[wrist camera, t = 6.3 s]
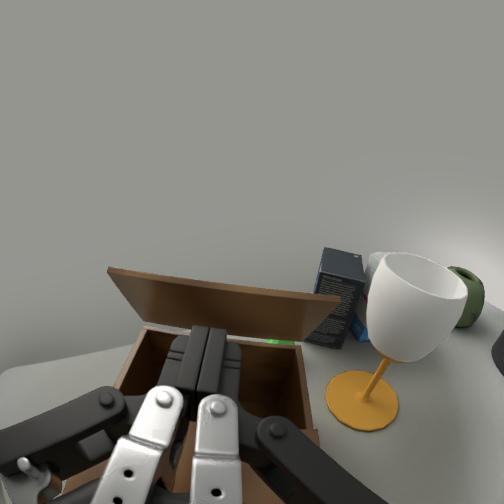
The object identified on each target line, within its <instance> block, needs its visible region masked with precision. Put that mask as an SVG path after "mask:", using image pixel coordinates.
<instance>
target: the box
mask: <svg viewBox="0 0 504 504" xmlns="http://www.w3.org/2000/svg"><path fill="white" fill-rule="evenodd" d="M365 283H366V280H365V276H364V271H363V264H362V257H361V255H357V254H353V253H348V252H344V251H340V250H336V249H332V248H326V247H325V248H324V250H323V254H322V258H321V262H320V267H319V271H318V275H317V278H316V282H315V286H314V291H313V294H322V295H332V296H340V299H341V303H340V304H339V305H338V306H337V307H336V308H335V309H334V310H333V311H332V312H331V313H330V314H329V315H328V316H327V317H326V318H325V319H324V320H323V322H322V323H321V324H320V325H319V326H318V327H317V328H316V329H315V330H314V331H313V332H312V333H311V334H310V335H309V336H308V337H307V338H306V339H304V341H307V342H312V343H316V344H320V345H324V346H328V347H333V348H338V349H340V348H341V347H342V344H343V342H344V339H345V337H346V334H347V332H348V329H349V327H350V324H351V321H352V319H353V316H354V314H355V311H356V308H357V305H358V303H359V300H360V297H361V294H362V291H363V289H364V286H365Z"/></svg>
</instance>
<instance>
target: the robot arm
mask: <svg viewBox="0 0 504 504" xmlns="http://www.w3.org/2000/svg"><path fill="white" fill-rule="evenodd" d="M226 338H227V329H219V328H212V327H211V329H210V327H205V326H198V325H193V327H192V330H191V333H190V336H188V335H182V334H180V335H179V336H178V337H177V338H176V339H175V340H173V342H172V345H171V347H170V351H169V353H168V355H167V359H166V361H165V364H164V366H163V369H162V372H161V375H160V377H159V380H158V383H157V385H156V387H154V388H152V389H151V390H150V391H149V392H148V393H147V394H145V395H140V396H123V394H122V393H121V391H119V390H118V389H116V388H114V387H110V386H104V387H100V388H98V389H96V390H93V391H91V392H89V393H87V394H85V395H83V396H81V397H78V398H76V399H74V400H72V401H70V402H67V403H65V404H63V405H61V406H58V407H56V408H54V409H52V410H49V411H47V412H45V413H42V414H40V415H38V416H35V417H33V418H30V419H28V420H25V421H23V422H21V423H18V424H16V425H13V426H10V427H8V428H5V429H3V430H0V476H1V479H2V481H3V483H4V486H5V488H6V490H7V492H8V495H9V497H10V499H11V501H12V503H13V504H244V503H242V477H241V461H242V462H245V463H248V464H249V466H250V467H251V468H252V469H253V471H254V472H255V473H256V474H257V475H258V476H259V477H260V478H261V479H262V480H263V481H264V483H265V484H266V485H267V486H268V487H269V488H270V489H271V490H272V491H273V492H274V493H275V494H276V495H277V496H278V497H279V498H280V499H281V500H282V501H283V502H284V503H285V504H388V503H387V502H386V501H384V500H383V499H382V498H380V497H379V496H378V495H376V494H375V493H374V492H372V491H371V490H370V489H368V488H367V487H366V486H364V485H363V484H362V483H361V482H359V481H358V480H357V479H356V478H354V477H353V476H352V475H351V474H349V473H348V472H347V471H346V470H345V469H343V468H342V467H341V466H340V465H339V464H337V463H336V462H335V461H334V460H333V459H332V458H331V457H329V456H328V455H327V454H326V453H325V452H324V451H323V450H321V449H320V448H319V447H318V446H317V445H316V444H315V443H314V442H313V441H311V440H310V439H309V438H308V437H307V436H306V435H305V434H304V433H303V432H302V431H301V430H300V429H299V428H298V427H297V426H296V425H294V424H293V423H292V422H291V421H290V420H289V419H287V418H285V417H282V416H269V417H266V418H264V419H262V418H259V417H257V416H254V415H251V414H249V413H248V412H246V411H245V410H244V409H243V408H242V407H241V405H240V403H239V400H238V393H239V380H240V368H241V356H242V351H241V348H240V346H239V344H238V342H230V341H226ZM196 419H197V427H196V438H195V450H194V454H193V460H192V472H191V487H190V493H173V489H174V485H175V477H176V471H177V467H178V464H179V461H180V457H181V454H182V451H183V448H184V444H185V441H186V438H187V432H188V427H189V423H190V421H192V422H196ZM109 458H110V459H109ZM107 459H109V461H108V463H107V465H106V467H105V470H104V472H103V474H102V476H101V478H97V479H94V480H91V481H89V482H87V483H85V484H83V485H81V486H80V487H78V488H76V489H74V490H72V491H70V492H68V493H66V494H64V495H61V496H59V497H57V498H55V499H53V498H54V497H56V496H57V495H59V494H60V493H61V491H62V482H61V481H63V480H66V479H68V478H70V477H72V476H75V475H77V474H79V473H81V472H83V471H85V470H87V469H89V468H91V467H93V466H95V465H97V464H99V463H101V462H103V461H105V460H107ZM52 499H53V500H52Z"/></svg>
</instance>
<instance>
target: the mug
mask: <svg viewBox="0 0 504 504" xmlns="http://www.w3.org/2000/svg"><path fill="white" fill-rule="evenodd" d="M447 269H449V270H451V271H452V272H453V273H455V274H456V275H457V276H458V277H459V278H460V279H461V280H462V281H463V282H464V284H465V285H466V287H467V289H468V297H467V300H466V303H465V307H464V310H463V313H462V316H461V317H460V319H459V321H458V322H457V324H456V325H455V326H458V327H465V326H471V325H472V324H473V323H474V322H475V321H476V320H477V318H478V317H479V316H480V314H481V311H482V308H483V305H484V297H485V295H484V294H485V291H484V286H483V283H482V282H481V280H480V279H479V278H478V277H477V276H475V275H474V274H473V273H471V272H470V271H468V270H466V269H463V268H460V267H452V266H451V267H448V268H447Z"/></svg>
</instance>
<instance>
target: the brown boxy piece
mask: <svg viewBox="0 0 504 504" xmlns="http://www.w3.org/2000/svg"><path fill="white" fill-rule="evenodd" d="M180 334H182V335H188V336H190V333H186V332H180V331H174V330H168V329H163V328H157V327H151V326H147V325H144V327H143V329H142V330H141V332H140V334H139V336H138V338H137V340H136V342H135V344H134V346H133V348H132V350H131V352H130V354H129V356H128V358H127V360H126V362H125V364H124V366H123V368H122V370H121V372H120V374H119V376H118V378H117V380H116V382H115V384H114V388H116V389H118V390H119V391H121V393H122V394H123V396H140V395H145V394H147V393H148V392H149V391H150V390H151V389H152V388H154V387H156V385H157V383H158V380H159V377H160V375H161V372H162V369H163V366H164V364H165V361H166V359H167V355H168V353H169V351H170V347H171V345H172V342H173V340H175V339H176V338H177V337H178V336H179V335H180ZM226 341H230V342H238V344H239V346H240V348H241V351H242V356H241V368H240V380H239V393H238V400H239V403H240V405H241V407H242V408H243V409H244V410H245V411H246V412H248V413H249V414H251V415H254V416H257V417H259V418H262V419H264V418H266V417H269V416H282V417H285V418H287V419H289V420H290V421H291V422H292V423H293V424H294V425H296V426H297V427H298V428H299V429H300V430H301V431H302V432H303V433H304V434H305V435H306V436H307V437H308V438H309V439H310V440H311V441H313V442H314V443H315V444H316V445H317V446H318V447H319V448H320V444H319V437H318V430H317V429H313V422H312V415H311V408H310V401H309V394H308V388H307V381H306V375H305V369H304V362H303V356H302V350H301V346H299V345H285V344H273V343H263V342H253V341H244V340H235V339H227V338H226ZM196 427H197V419H196V422H192V421H190V423H189V427H188V432H187V438H186V441H185V444H184V448H183V451H182V454H181V457H180V461H179V464H178V467H177V471H176V477H175V485H174V489H173V493H190V487H191V472H192V460H193V454H194V450H195V438H196ZM109 459H110V458H109ZM109 459H107V460H105V461H103V462H101V463H99V464H97V465H95V466H93V467H91V468H89V469H87V470H85V471H83V472H81V473H79V474H77V475H75V476H72V477H70V478H68V480H67V482H66V485H65V488H64V490H63V493H62V495H64V494H66V493H68V492H70V491H72V490H74V489H76V488H78V487H80V486H81V485H83V484H85V483H87V482H89V481H91V480H94V479H97V478H101V476H102V474H103V472H104V470H105V467H106V465H107V463H108V461H109ZM241 477H242V503H244V504H285V503H284V502H283V501H282V500H281V499H280V498H279V497H278V496H277V495H276V494H275V493H274V492H273V491H272V490H271V489H270V488H269V487H268V486H267V485H266V484H265V483H264V481H263V480H262V479H261V478H260V477H259V476H258V475H257V474H256V473H255V472H254V471H253V469H252V468H251V467H250V466H249V464H248V463H245V462H242V461H241Z"/></svg>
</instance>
